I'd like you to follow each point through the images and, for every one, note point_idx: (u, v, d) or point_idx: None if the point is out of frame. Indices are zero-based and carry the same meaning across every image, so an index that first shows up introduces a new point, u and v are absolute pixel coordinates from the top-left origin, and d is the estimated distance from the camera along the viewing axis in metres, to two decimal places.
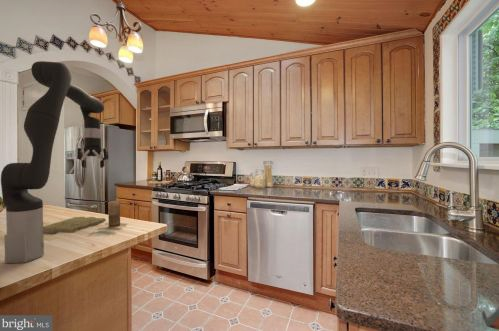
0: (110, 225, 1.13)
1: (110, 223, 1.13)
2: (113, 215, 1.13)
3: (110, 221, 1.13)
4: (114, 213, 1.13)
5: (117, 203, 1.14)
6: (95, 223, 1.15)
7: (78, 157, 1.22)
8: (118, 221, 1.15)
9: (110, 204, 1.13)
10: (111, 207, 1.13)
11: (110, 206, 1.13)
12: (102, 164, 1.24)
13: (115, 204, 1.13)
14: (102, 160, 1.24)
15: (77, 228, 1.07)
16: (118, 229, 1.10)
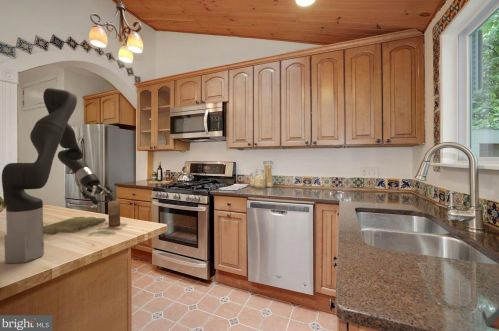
0: (110, 225, 1.13)
1: (110, 223, 1.13)
2: (113, 215, 1.13)
3: (110, 221, 1.13)
4: (114, 213, 1.13)
5: (117, 203, 1.14)
6: (95, 223, 1.15)
7: (88, 194, 1.11)
8: (118, 221, 1.15)
9: (110, 204, 1.13)
10: (111, 207, 1.13)
11: (110, 206, 1.13)
12: (112, 196, 1.22)
13: (115, 204, 1.13)
14: (110, 193, 1.22)
15: (77, 228, 1.07)
16: (118, 229, 1.10)
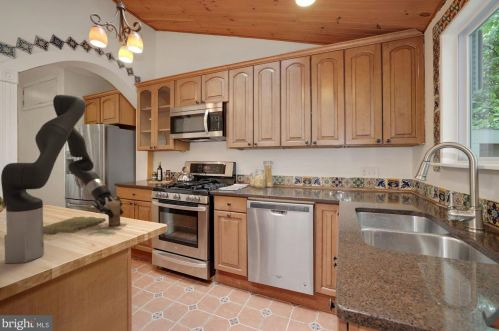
0: (110, 225, 1.13)
1: (110, 223, 1.13)
2: None
3: (110, 221, 1.13)
4: (114, 213, 1.13)
5: (117, 203, 1.14)
6: (95, 223, 1.15)
7: (103, 207, 1.11)
8: (118, 221, 1.15)
9: (110, 204, 1.13)
10: (111, 207, 1.13)
11: (110, 206, 1.13)
12: (121, 210, 1.18)
13: (115, 204, 1.13)
14: None
15: (77, 228, 1.07)
16: (118, 229, 1.10)
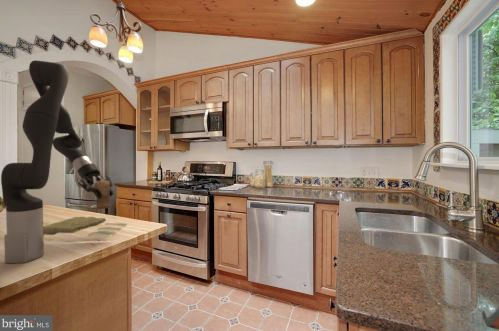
0: (98, 207, 1.02)
1: (98, 204, 1.02)
2: (102, 196, 1.02)
3: (98, 202, 1.02)
4: (102, 194, 1.02)
5: (106, 182, 1.03)
6: (95, 223, 1.15)
7: (90, 186, 0.99)
8: (107, 203, 1.04)
9: (98, 183, 1.01)
10: (99, 187, 1.01)
11: (98, 185, 1.01)
12: (111, 191, 1.07)
13: (104, 183, 1.02)
14: None
15: (77, 228, 1.07)
16: (118, 229, 1.10)
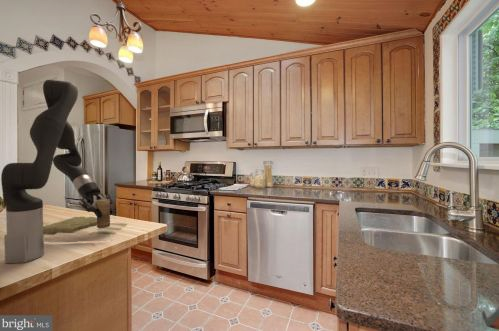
0: (98, 226, 1.02)
1: (98, 224, 1.02)
2: None
3: (98, 221, 1.02)
4: (103, 213, 1.02)
5: (106, 202, 1.03)
6: (95, 223, 1.15)
7: (91, 206, 1.00)
8: (108, 221, 1.04)
9: (98, 203, 1.02)
10: (99, 206, 1.02)
11: (98, 205, 1.02)
12: (112, 209, 1.07)
13: (104, 203, 1.02)
14: None
15: (77, 228, 1.07)
16: (118, 229, 1.10)
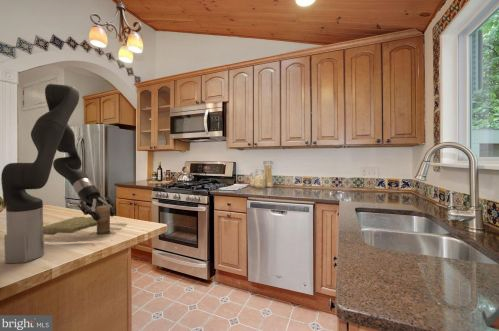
0: (98, 232, 1.02)
1: (98, 230, 1.02)
2: (102, 221, 1.02)
3: (98, 228, 1.02)
4: (103, 220, 1.02)
5: (106, 208, 1.03)
6: (95, 223, 1.15)
7: (88, 209, 0.99)
8: (107, 228, 1.04)
9: (98, 209, 1.02)
10: (99, 213, 1.02)
11: (98, 211, 1.02)
12: (113, 211, 1.08)
13: (104, 209, 1.02)
14: (111, 207, 1.09)
15: (77, 228, 1.07)
16: (118, 229, 1.10)
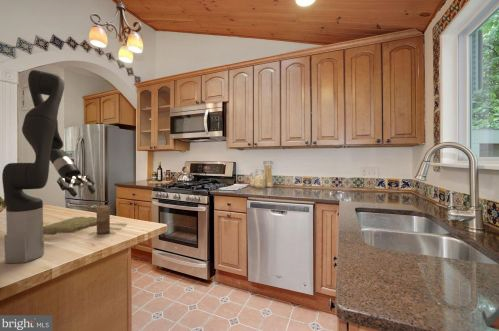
0: (98, 232, 1.02)
1: (98, 230, 1.02)
2: (102, 222, 1.02)
3: (98, 228, 1.02)
4: (102, 220, 1.02)
5: (106, 208, 1.03)
6: (95, 223, 1.15)
7: (65, 185, 1.02)
8: (107, 228, 1.04)
9: (98, 209, 1.02)
10: (99, 213, 1.02)
11: (98, 211, 1.02)
12: (93, 188, 1.12)
13: (104, 209, 1.02)
14: (91, 185, 1.13)
15: (77, 228, 1.07)
16: (118, 229, 1.10)
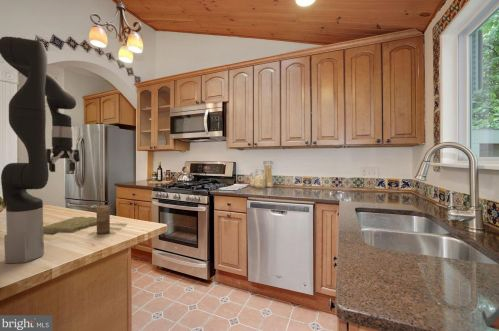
0: (98, 232, 1.02)
1: (98, 230, 1.02)
2: (102, 222, 1.02)
3: (98, 228, 1.02)
4: (102, 220, 1.02)
5: (106, 208, 1.03)
6: (95, 223, 1.15)
7: (49, 160, 1.02)
8: (107, 228, 1.04)
9: (98, 209, 1.02)
10: (99, 213, 1.02)
11: (98, 211, 1.02)
12: (74, 167, 1.13)
13: (104, 209, 1.02)
14: (74, 162, 1.13)
15: (77, 228, 1.07)
16: (118, 229, 1.10)
